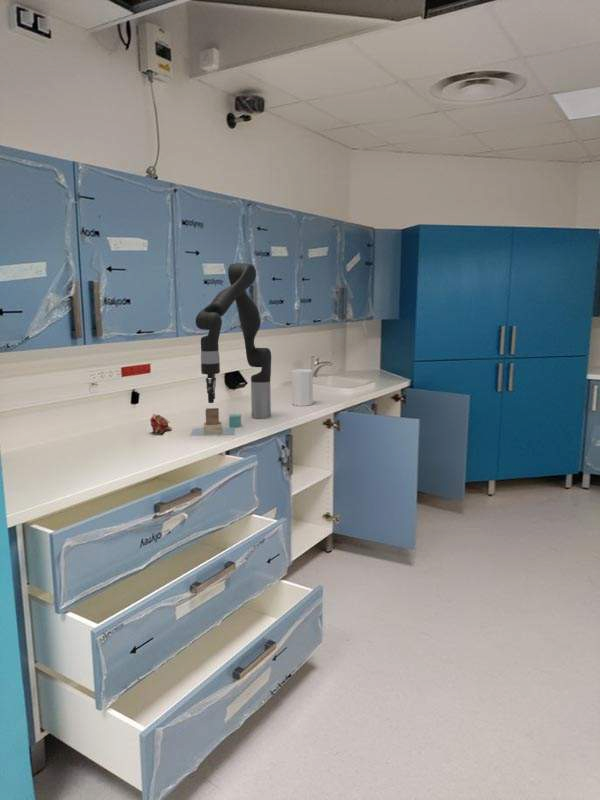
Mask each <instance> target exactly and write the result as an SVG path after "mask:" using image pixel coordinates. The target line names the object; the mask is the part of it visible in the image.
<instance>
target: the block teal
mask: <svg viewBox="0 0 600 800" xmlns="http://www.w3.org/2000/svg"><path fill="white" fill-rule="evenodd" d="M228 421H229V422H228V425H229V426H228V428H233V427H235V428H241V427H242V414H240V413H239V414H233V413H231V414H229V415H228Z"/></svg>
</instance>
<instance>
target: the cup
mask: <svg viewBox="0 0 600 800" xmlns="http://www.w3.org/2000/svg"><path fill="white" fill-rule="evenodd" d="M313 372H314V371H313V370H312V369H308V368H307V369H306V368H305V369H303V368H302V369H301V368H300V369H292V370H291V404H292V405H293V404H294V405H300V406H299V407H307V406H306V405H310V406H312V405H314V404H313V403H314V401H313V399H314V395H313V393H314V391H313V390H314V387H313V385H314V384H313V383H314V375H313V374H314V373H313ZM294 405H293V406H294Z"/></svg>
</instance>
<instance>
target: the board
mask: <svg viewBox="0 0 600 800" xmlns="http://www.w3.org/2000/svg"><path fill="white" fill-rule="evenodd" d="M235 431H236V427H222V432H221V434H210V435H204V427H202V428H201V427H199V428H198V427H197V428H196V427H195V428H194V427H193V428H192V430H191V432H190V434H189V436H190V437H197V436H198V437H201V436H203V437H205V436H206V437H207V436H235Z"/></svg>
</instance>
